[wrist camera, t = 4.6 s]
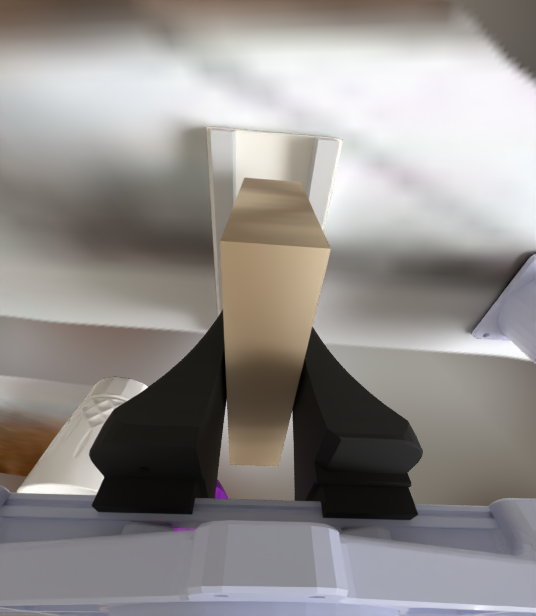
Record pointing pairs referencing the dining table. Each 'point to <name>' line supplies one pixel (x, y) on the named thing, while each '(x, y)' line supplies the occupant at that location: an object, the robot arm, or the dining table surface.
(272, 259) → the tan rectangular block
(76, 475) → the white cup
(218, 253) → the track board
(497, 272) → the dining table surface
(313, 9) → the dining table surface
